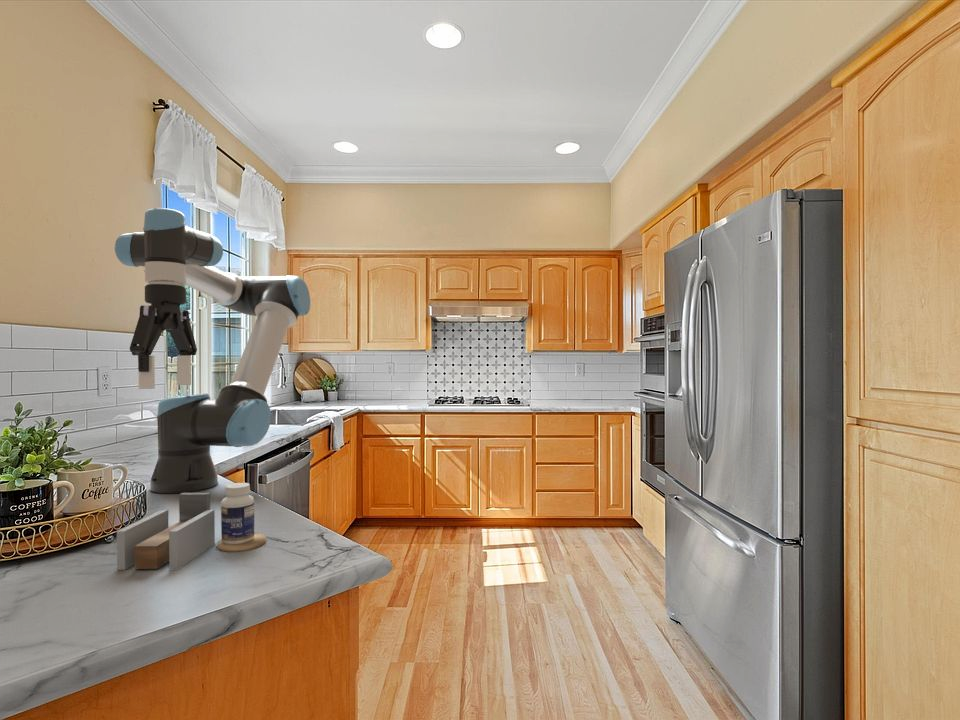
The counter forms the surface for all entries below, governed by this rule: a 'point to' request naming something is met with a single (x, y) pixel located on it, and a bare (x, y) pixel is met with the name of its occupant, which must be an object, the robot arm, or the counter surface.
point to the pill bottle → (237, 514)
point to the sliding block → (157, 546)
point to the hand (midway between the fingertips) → (166, 387)
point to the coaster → (243, 544)
